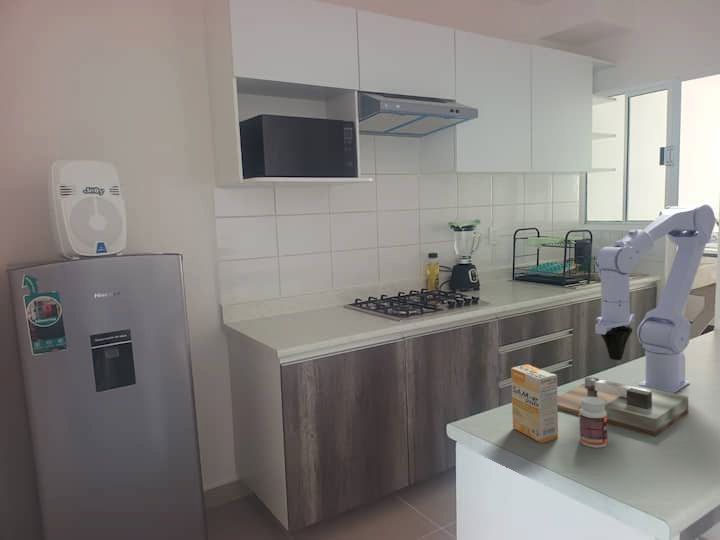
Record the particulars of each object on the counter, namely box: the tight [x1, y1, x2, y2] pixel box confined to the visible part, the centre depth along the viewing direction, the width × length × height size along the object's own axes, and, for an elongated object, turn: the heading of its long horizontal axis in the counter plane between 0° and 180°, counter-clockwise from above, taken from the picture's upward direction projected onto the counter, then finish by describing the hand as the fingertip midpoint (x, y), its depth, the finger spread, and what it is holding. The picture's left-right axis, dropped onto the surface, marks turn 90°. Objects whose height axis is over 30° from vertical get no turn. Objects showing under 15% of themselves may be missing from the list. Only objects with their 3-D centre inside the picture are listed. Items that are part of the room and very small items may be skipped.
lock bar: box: [584, 376, 652, 398], centre depth 110 cm, size 14×3×2 cm, turn 39°
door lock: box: [557, 383, 689, 437], centre depth 111 cm, size 16×23×6 cm
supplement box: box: [510, 364, 559, 444], centre depth 102 cm, size 8×5×13 cm, turn 23°
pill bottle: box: [578, 397, 608, 449], centre depth 96 cm, size 5×5×8 cm
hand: (615, 359), depth 116 cm, fingers closed
